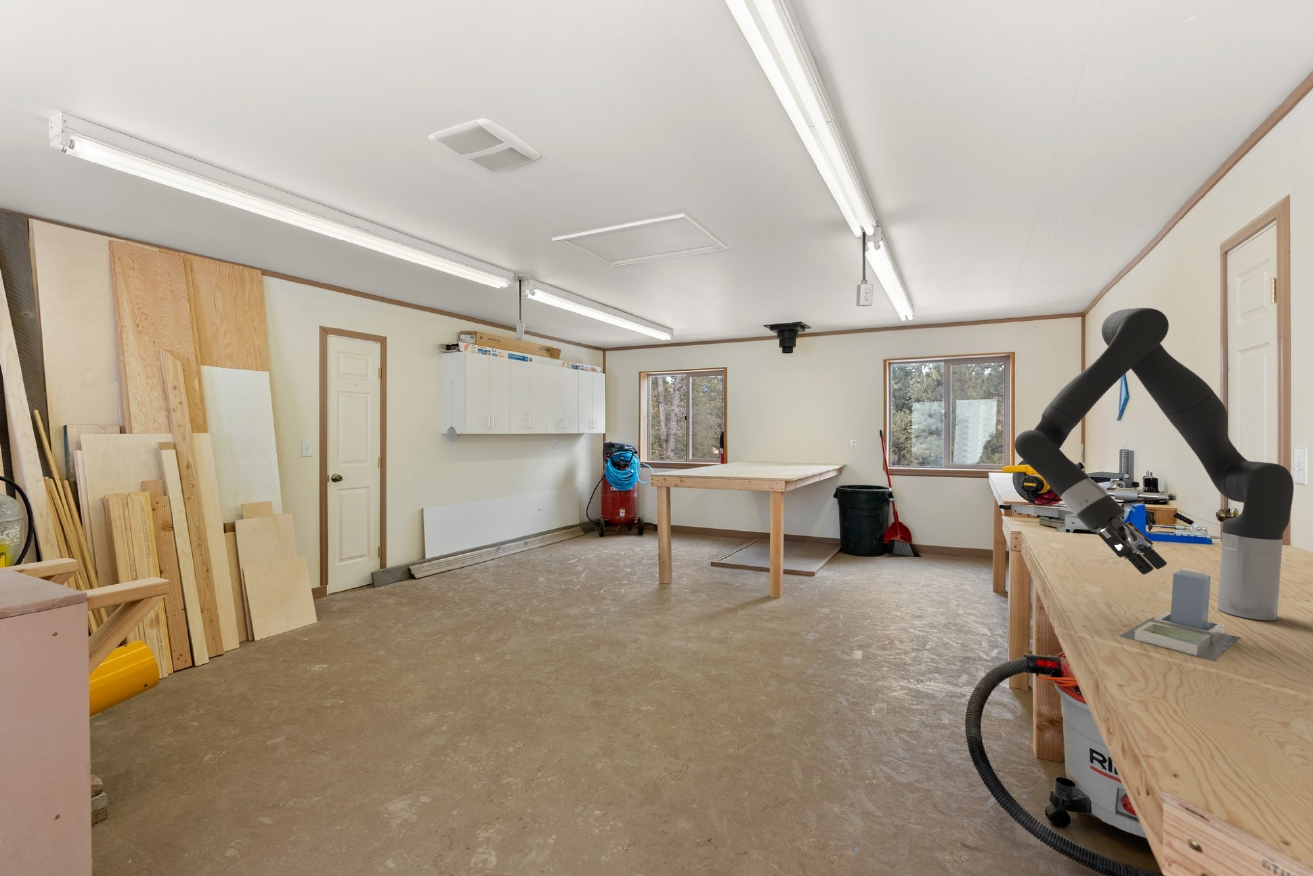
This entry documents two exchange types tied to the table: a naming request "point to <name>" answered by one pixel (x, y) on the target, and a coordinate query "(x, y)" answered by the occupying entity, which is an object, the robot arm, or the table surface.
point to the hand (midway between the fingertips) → (1156, 569)
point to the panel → (1183, 637)
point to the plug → (1190, 598)
